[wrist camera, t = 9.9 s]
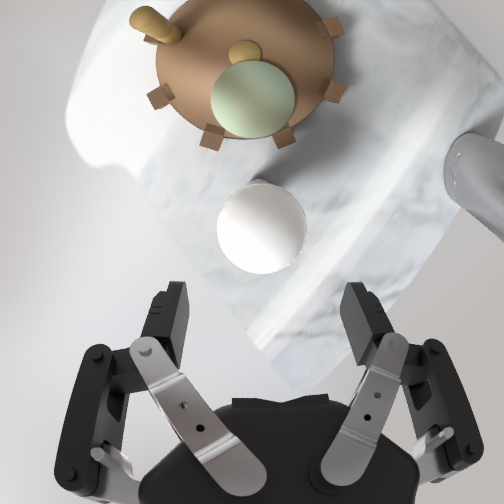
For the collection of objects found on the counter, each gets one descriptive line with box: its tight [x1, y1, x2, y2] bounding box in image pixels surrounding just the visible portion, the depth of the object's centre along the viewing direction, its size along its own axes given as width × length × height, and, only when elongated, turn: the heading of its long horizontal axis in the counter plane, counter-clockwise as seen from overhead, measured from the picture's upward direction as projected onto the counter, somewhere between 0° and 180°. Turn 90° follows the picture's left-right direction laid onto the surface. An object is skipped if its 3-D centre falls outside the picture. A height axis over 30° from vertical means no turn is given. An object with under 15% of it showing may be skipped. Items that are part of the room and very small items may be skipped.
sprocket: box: [129, 0, 346, 151], centre depth 15 cm, size 17×17×9 cm
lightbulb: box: [217, 179, 307, 274], centre depth 22 cm, size 6×6×11 cm
